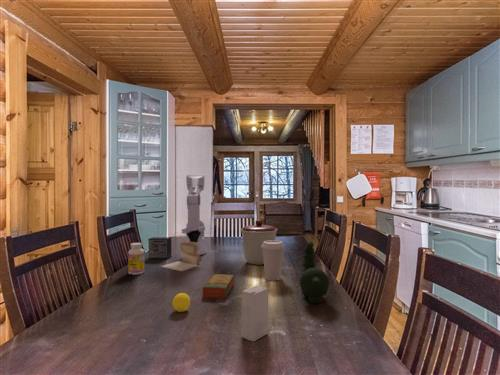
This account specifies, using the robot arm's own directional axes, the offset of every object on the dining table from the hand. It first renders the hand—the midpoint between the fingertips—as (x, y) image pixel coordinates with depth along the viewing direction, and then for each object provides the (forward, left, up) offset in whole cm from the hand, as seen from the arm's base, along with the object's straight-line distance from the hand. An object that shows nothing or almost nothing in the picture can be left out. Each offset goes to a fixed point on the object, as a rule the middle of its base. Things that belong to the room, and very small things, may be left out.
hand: (193, 246), depth 163 cm
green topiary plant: (+14, +68, -8) cm, 70 cm away
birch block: (+2, 0, -8) cm, 8 cm away
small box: (+2, -22, -8) cm, 24 cm away
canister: (-17, +27, -8) cm, 33 cm away
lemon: (+48, +39, -8) cm, 62 cm away
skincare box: (+50, +67, -8) cm, 84 cm away
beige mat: (+10, 0, -8) cm, 13 cm away
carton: (+27, +37, -9) cm, 46 cm away
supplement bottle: (+28, -8, -8) cm, 30 cm away
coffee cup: (+3, +46, -8) cm, 47 cm away
